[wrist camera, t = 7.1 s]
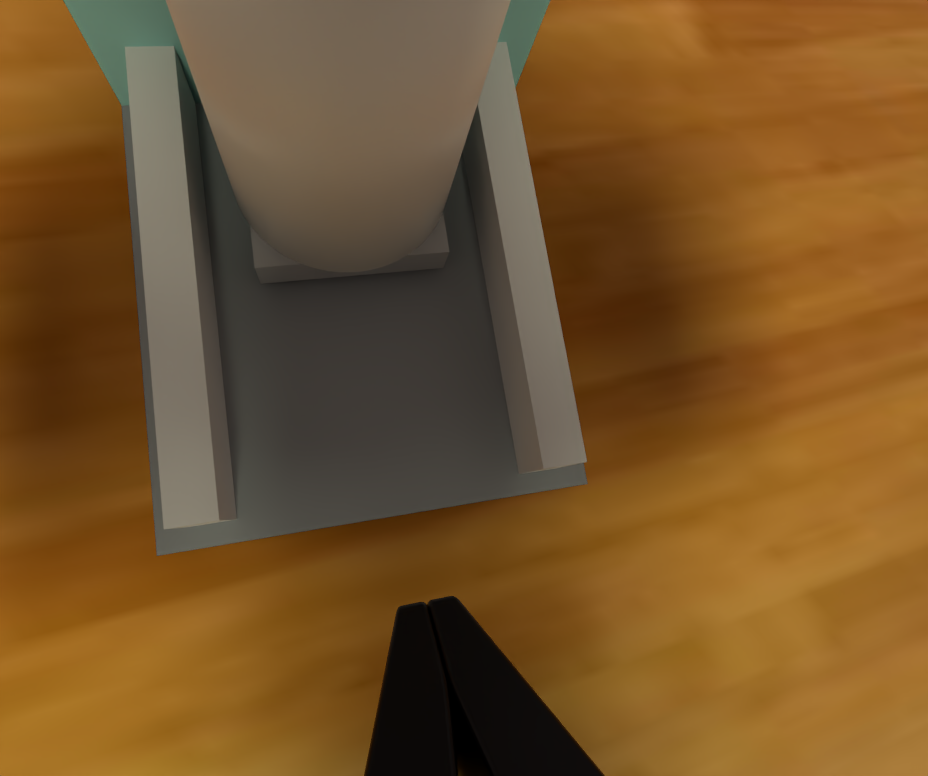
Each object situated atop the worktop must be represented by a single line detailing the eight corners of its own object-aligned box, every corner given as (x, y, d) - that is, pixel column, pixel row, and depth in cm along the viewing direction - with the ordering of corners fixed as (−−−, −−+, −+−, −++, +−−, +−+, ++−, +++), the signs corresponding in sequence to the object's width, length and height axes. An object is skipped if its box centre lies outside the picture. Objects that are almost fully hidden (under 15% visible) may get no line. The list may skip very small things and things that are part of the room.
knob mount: (573, 485, 17) (694, 471, 11) (169, 552, 15) (53, 579, 9) (490, 40, 19) (553, -170, 13) (128, 44, 17) (12, -204, 11)
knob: (456, 278, 16) (710, -263, 5) (249, 297, 15) (-39, -337, 4) (427, 98, 17) (584, -719, 6) (227, 104, 16) (-61, -884, 5)
